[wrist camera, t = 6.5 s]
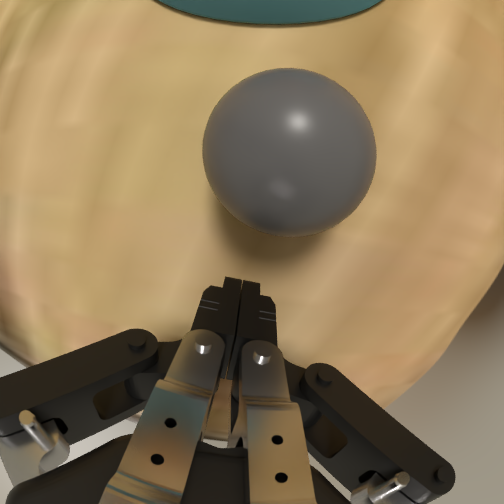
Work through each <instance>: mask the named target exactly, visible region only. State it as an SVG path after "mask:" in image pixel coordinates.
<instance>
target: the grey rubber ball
mask: <svg viewBox="0 0 504 504" xmlns="http://www.w3.org/2000/svg"><path fill="white" fill-rule="evenodd" d="M203 163H204V168H205V173H206V176H207V179H208V181H209V184H210V186H211V188H212V190H213V192H214V194H215V195H216V197H217V198H218V200H219V201H220V202H221V204H222V205H223V206H224V207H225V208H226V209H227V210H228V211H229V212H230V213H231V214H232V215H233V216H234V217H235V218H237V219H238V220H239V221H241V222H242V223H244V224H246V225H247V226H249V227H251V228H253V229H256V230H258V231H261V232H264V233H267V234H271V235H275V236H282V237H302V236H309V235H313V234H316V233H320V232H322V231H325V230H327V229H330V228H332V227H334V226H335V225H337V224H339V223H340V222H341V221H343V220H344V219H345V218H347V217H348V216H349V215H350V214H351V213H352V212H353V211H354V210H355V209H356V208H357V207H358V206H359V204H360V203H361V201H362V200H363V199H364V197H365V196H366V194H367V192H368V190H369V187H370V185H371V183H372V180H373V176H374V173H375V166H376V143H375V138H374V133H373V129H372V127H371V124H370V121H369V119H368V117H367V116H366V114H365V112H364V110H363V108H362V107H361V106H360V104H359V103H358V102H357V100H356V99H355V98H354V97H353V96H352V95H351V94H350V93H349V92H348V91H347V90H346V89H344V88H343V87H342V86H340V85H339V84H338V83H336V82H335V81H333V80H331V79H329V78H328V77H326V76H323V75H321V74H318V73H316V72H312V71H308V70H304V69H296V68H278V69H272V70H266V71H263V72H260V73H257V74H254V75H252V76H250V77H248V78H246V79H244V80H242V81H241V82H239V83H238V84H236V85H235V86H234V87H232V88H231V89H230V90H229V91H228V92H227V93H226V94H225V95H224V96H223V97H222V98H221V100H220V101H219V102H218V104H217V105H216V106H215V108H214V109H213V111H212V113H211V115H210V117H209V120H208V123H207V126H206V129H205V132H204V138H203Z"/></svg>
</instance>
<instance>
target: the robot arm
mask: <svg viewBox="0 0 504 504" xmlns="http://www.w3.org/2000/svg"><path fill="white" fill-rule="evenodd" d="M241 284H242V288H241ZM228 362H229V364H228ZM227 367H228V371H227ZM226 371H227V379H229V380H232V388H231V392H230V395H229V432H228V445H227V448H217V447H214V446H212V445H209V444H207V443H204V442H203V438H204V434H205V430H206V427H207V423H208V419H209V415H210V412H211V408H212V404H213V400H214V397H215V393H216V391H217V390H218V387H219V382H220V378H223V379H225V375H226ZM142 410H144V411H143V413H142V415H141V417H140V419H139V422H138V424H137V426H136V428H135V431H134V433H133V434H128V435H124V436H120V437H118V438H115V439H113V440H111V441H109V442H107V443H105V444H103V445H102V446H100V447H98V448H96V449H94V450H92V451H91V452H88V453H86V454H84V455H82V456H80V457H78V458H76V459H74V460H72V461H70V462H68V463H66V464H64V465H62V466H59V465H60V464H62V463H63V462H65V461H66V459H67V458H68V456H69V452H70V447H69V445H72V444H74V443H76V442H78V441H80V440H83V439H85V438H87V437H89V436H92V435H94V434H96V433H98V432H100V431H102V430H104V429H106V428H108V427H110V426H112V425H114V424H116V423H118V422H120V421H122V420H124V419H126V418H128V417H130V416H132V415H134V414H136V413H138V412H140V411H142ZM307 451H308V452H309V453H310V454H311V455H312V456H313V457H314V458H315V459H316V460H317V461H318V462H319V463H320V464H321V465H322V466H323V467H324V468H325V469H326V470H327V471H328V472H329V473H330V474H331V475H332V476H333V477H335V478H336V479H337V480H338V481H339V482H340V483H341V484H342V485H343V486H344V487H346V488H347V489H348V490H349V491H350V492H351V493H352V494H351V499H350V500H351V501H349V500H347V499H346V498H345V497H344V496H343V495H342V494H341V493H340V492H339V491H338V490H337V489H336V488H335V487H334V486H333V485H332V484H331V483H330V482H329V481H328V480H327V479H326V478H325V477H324V476H323V475H322V474H321V473H320V472H319V471H318V470H316V469H315V468H314V467H313V466H311V465H310V464H309V458H308V452H307ZM0 456H1V459H2V462H3V464H4V467H5V469H6V471H7V473H8V476H9V478H10V480H11V482H12V484H13V486H14V488H13V489H12V490H11V491H10V492H9V494H8V496H7V500H6V504H427V503H429V502H431V501H433V500H435V499H436V498H438V497H440V496H442V495H444V494H446V493H447V492H449V491H450V490H451V489H452V487H453V485H454V483H455V471H454V469H453V467H452V466H451V464H450V463H449V462H447V461H446V460H445V459H444V458H442V457H441V456H440V455H438V454H437V453H436V452H435V451H433V450H432V449H431V448H430V447H428V446H427V445H426V444H424V443H423V442H422V441H421V440H420V439H419V438H417V437H416V436H415V435H414V434H412V433H411V432H410V431H409V430H407V429H406V428H405V427H404V426H403V425H401V424H400V423H399V422H398V421H396V420H395V419H394V418H393V417H392V416H390V415H389V414H388V413H387V412H386V411H385V410H383V409H382V408H381V407H380V406H379V405H378V404H376V403H375V402H374V401H373V400H372V399H371V398H369V397H368V396H367V395H366V394H365V393H364V392H362V391H361V390H360V389H359V388H358V387H357V386H355V385H354V384H353V383H352V382H351V381H350V380H349V379H347V378H346V377H345V376H344V375H343V374H342V373H341V372H339V371H338V370H337V369H336V368H334V367H333V366H331V365H328V364H325V363H315V364H312V365H310V366H308V368H307V369H304V368H302V367H299V366H296V365H294V364H292V363H290V362H288V361H287V360H285V359H284V358H283V355H282V352H281V351H280V349H279V348H278V346H277V326H276V307H275V304H274V302H273V300H272V299H271V297H268V296H263V295H260V283H256V282H251V281H246V280H243V283H242V280H241V279H235V278H230V277H226V276H225V280H224V284H223V288H221V287H216V286H212V285H211V286H209V287H208V288H207V289H206V290H204V292H203V295H202V298H201V301H200V304H199V307H198V310H197V313H196V316H195V319H194V322H193V325H192V328H191V331H190V332H188V333H187V334H186V335H185V336H184V337H183V339H181V340H178V341H174V342H158V341H157V339H156V337H155V336H154V335H153V334H152V333H150V332H148V331H146V330H143V329H129V330H126V331H124V332H121V333H118V334H116V335H113V336H111V337H108V338H106V339H103V340H101V341H98V342H95V343H93V344H90V345H88V346H85V347H83V348H80V349H77V350H75V351H72V352H69V353H67V354H64V355H61V356H59V357H56V358H53V359H51V360H48V361H45V362H42V363H40V364H37V365H34V366H31V367H29V368H26V369H23V370H20V371H17V372H15V373H12V374H9V375H6V376H4V377H1V378H0ZM58 466H59V467H58Z"/></svg>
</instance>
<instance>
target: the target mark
mask: <svg viewBox="0 0 504 504" xmlns="http://www.w3.org/2000/svg"><path fill="white" fill-rule="evenodd" d="M159 1H160V2H162V3H164V4H166V5H168V6H171V7H173V8H175V9H177V10H180V11H184V12H187V13H190V14H193V15H197V16H202V17H207V18H211V19H216V20H224V21H230V22H240V23H252V24H301V23H310V22H320V21H326V20H331V19H337V18H341V17H345V16H348V15H352V14H356V13H358V12H360V11H363V10H365V9H368V8H370V7H372V6H373V5H375V4H377V3H378V2H380V1H381V0H159Z"/></svg>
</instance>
